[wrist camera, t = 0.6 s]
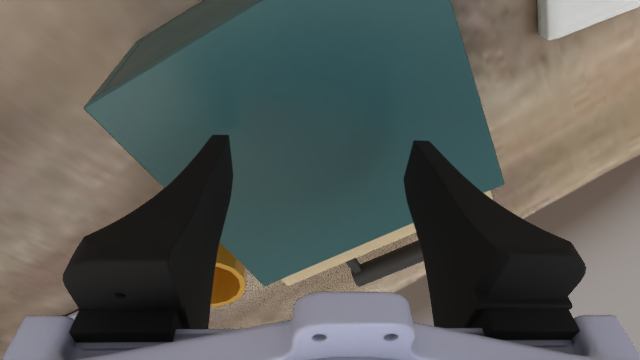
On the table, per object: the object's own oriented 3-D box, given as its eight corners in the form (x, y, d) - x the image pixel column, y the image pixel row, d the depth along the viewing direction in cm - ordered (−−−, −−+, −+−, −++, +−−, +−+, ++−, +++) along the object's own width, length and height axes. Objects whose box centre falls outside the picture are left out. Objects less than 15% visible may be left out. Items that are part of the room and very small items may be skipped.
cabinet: (450, 112, 27) (505, 184, 21) (265, 200, 30) (264, 287, 24) (373, -107, 19) (422, -97, 13) (135, 42, 22) (82, 108, 16)
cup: (211, 267, 34) (203, 315, 30) (171, 231, 31) (158, 279, 27) (260, 245, 33) (258, 291, 29) (224, 206, 30) (217, 252, 26)
